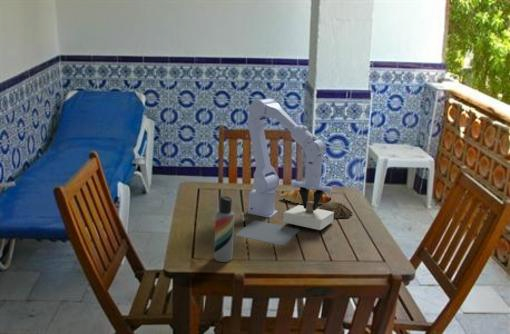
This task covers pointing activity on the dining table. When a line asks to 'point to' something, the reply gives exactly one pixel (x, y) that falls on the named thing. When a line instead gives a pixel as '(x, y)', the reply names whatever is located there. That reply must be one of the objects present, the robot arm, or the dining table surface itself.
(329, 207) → the bread roll
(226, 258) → the lotion bottle
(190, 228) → the dining table surface
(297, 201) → the croissant
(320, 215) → the cover
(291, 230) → the mat
